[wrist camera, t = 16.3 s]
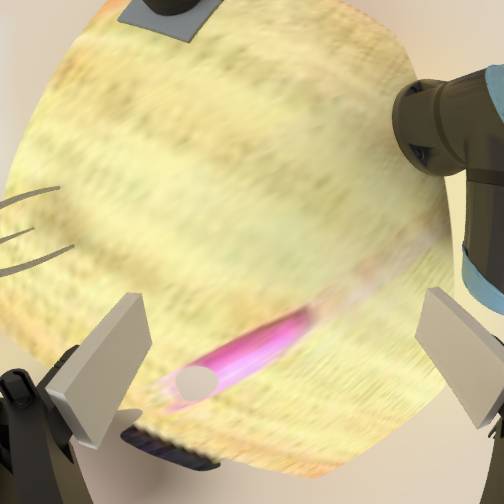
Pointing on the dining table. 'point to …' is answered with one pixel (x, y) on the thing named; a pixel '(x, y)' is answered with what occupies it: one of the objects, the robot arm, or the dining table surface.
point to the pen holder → (170, 6)
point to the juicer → (35, 262)
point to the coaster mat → (169, 19)
